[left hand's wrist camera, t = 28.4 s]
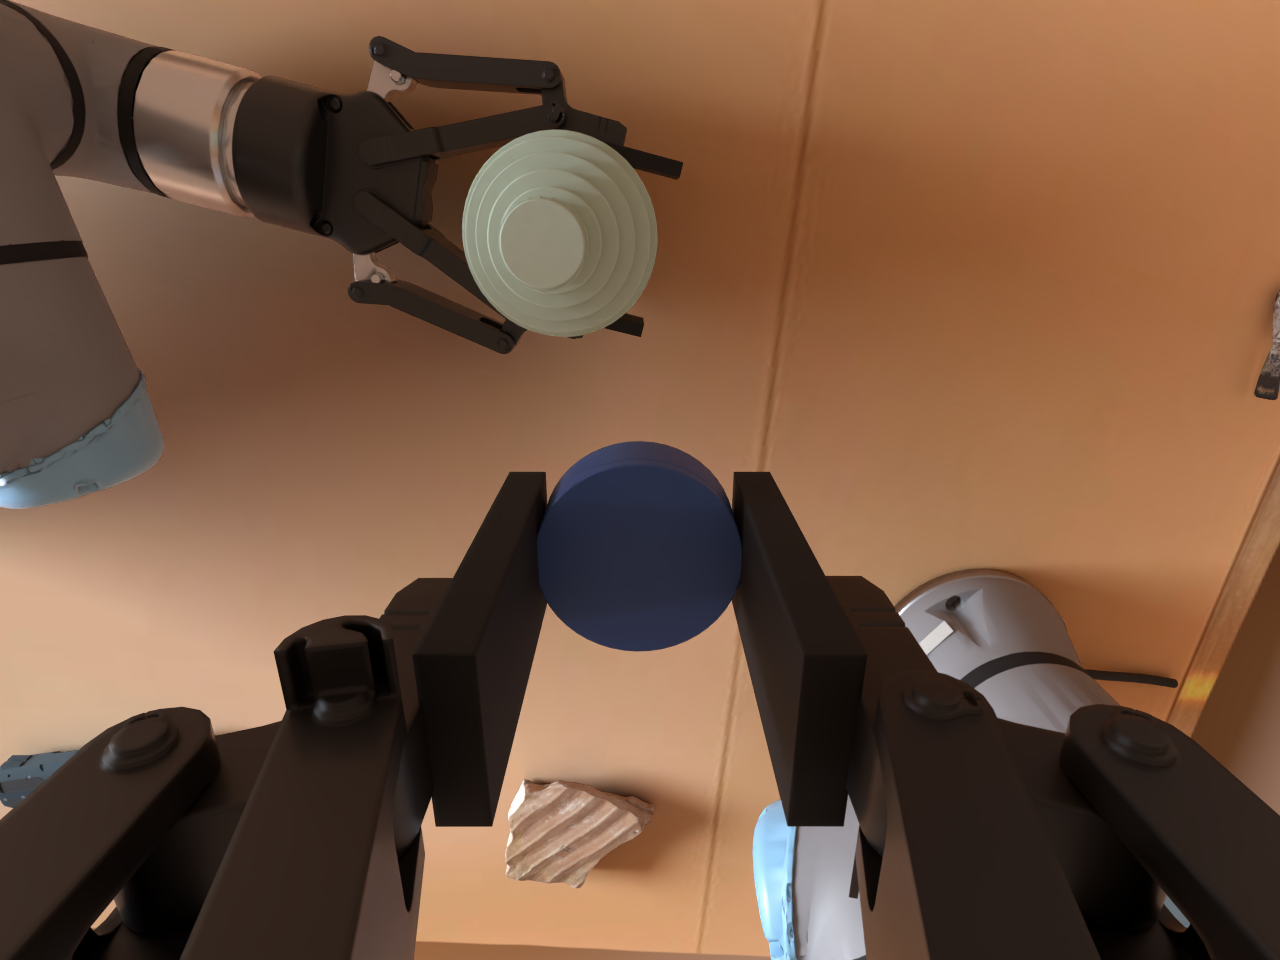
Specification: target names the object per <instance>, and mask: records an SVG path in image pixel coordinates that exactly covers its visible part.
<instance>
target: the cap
mask: <svg viewBox="0 0 1280 960" xmlns="http://www.w3.org/2000/svg"><path fill="white" fill-rule="evenodd" d="M537 553H538V570H539V586H540V589H541V591H542V594H543V596H544V598H545V599H546V601H547V603H548V604H549V606H550V608H551V609H552V610H553V611H554V613H555V614H556V615H557V616H558V617H559V618H560V619H561V620H562V621H563V622H564V623H565V624H566V625H567V626H568V627H569V628H571V629H572V630H573V631H575V632H576V633H578V634H579V635H581V636H583V637H584V638H586V639H588V640H590V641H593V642H595V643H597V644H600V645H603V646H606V647H609V648H614V649H619V650H625V651H652V650H658V649H664V648H668V647H671V646H675V645H678V644H680V643H683V642H685V641H687V640H689V639H691V638H693V637H695V636H697V635H698V634H700V633H701V632H703V631H704V630H705V629H707V628H708V627H709V626H710V625H712V624H713V623H714V622H715V621H716V620H717V619H718V618H719V617H720V615H721V614H722V613H723V612H724V611H725V610H726V608H727V606H728V605H729V603H730V602H731V600H732V599H733V596H734V594H735V592H736V590H737V588H738V585H739V581H740V577H741V562H742V541H741V537H740V534H739V530H738V527H737V524H736V521H735V518H734V515H733V512H732V509H731V506H730V502H729V500H728V497H727V495H726V493H725V491H724V489H723V487H722V486H721V484H720V483H719V481H718V480H717V478H716V477H715V476H714V475H713V474H712V472H711V471H710V470H709V469H708V468H706V467H705V466H704V465H703V464H702V463H701V462H700V461H698V460H697V459H695V458H694V457H692V456H691V455H689V454H687V453H685V452H683V451H681V450H679V449H676V448H673V447H670V446H668V445H664V444H659V443H654V442H642V441H638V442H624V443H618V444H614V445H610V446H607V447H604V448H601V449H599V450H597V451H594V452H592V453H590V454H589V455H587V456H585V457H584V458H582V459H581V460H579V461H578V462H577V463H576V464H574V465H573V466H572V467H571V468H570V469H569V470H568V471H567V472H566V473H565V474H564V475H563V476H562V478H561V479H560V481H559V482H558V483H557V485H556V486H555V488H554V490H553V492H552V494H551V496H550V499H549V501H548V504H547V507H546V510H545V513H544V516H543V519H542V522H541V525H540V528H539V531H538V534H537Z"/></svg>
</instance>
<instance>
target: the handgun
mask: <svg viewBox="0 0 1280 960" xmlns="http://www.w3.org/2000/svg"><path fill="white" fill-rule="evenodd" d="M78 751H79V750H75V751H68V752H58V751H57V752H50V753H43V754H36V755H12V756H11V757H10V758H9V759H8V760H7V761H6V762H4V763H3V764H2V765H1V767H0V801H1V802H2V804H3V805H4V806H7V807H11V808H14V807H16V806H17V805H18V804H19V803H20V802H21V801H22V800H23V799H25V798H26V797H27V796H28V795H29V794H30V793H31V792H33V791H34V790H35V789H36V788H37V787H38V786H39V785H40V784H42V783H43V782H44V781H45V780H46V779H47V778H48V777H49V776H51V775H52V774H53V773H54V772H55V771H56V770H57V769H58V768H60V767H61V766H62V765H63V764H64V763H65V762H66V761H67V760H69V759H70V758H71V757H72V756H73V755H74V754H75V753H77V752H78Z"/></svg>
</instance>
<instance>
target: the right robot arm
mask: <svg viewBox="0 0 1280 960" xmlns="http://www.w3.org/2000/svg"><path fill="white" fill-rule="evenodd" d="M369 52H370V55H371V57H372V58H373V59H374V64H373V68H372V72H371V76H370V80H369V84H368V88H367V91H360V92H358V93H355V94H349V95H343V94H339V93H335V92H331V91H327V90H324V89H320V88H316V87H312V86H309V85H305V84H301V83H297V82H294V81H290V80H286V79H282V78H279V77H275V76H265V77H261V76H260V75H259V74H258V73H256V72H254V71H251V70H249V69H245V68H242V67H238V66H234V65H231V64H227V63H223V62H219V61H216V60H212V59H208V58H204V57H201V56H197V55H193V54H190V53H186V52H182V51H175V50H172V49H168V48H164V47H157V46H153V45H150V44H147V43H143V42H140V41H136V40H133V39H130V38H126V37H123V36H120V35H116V34H113V33H110V32H106V31H103V30H100V29H96V28H93V27H89V26H86V25H82V24H79V23H76V22H72V21H69V20H66V19H62V18H59V17H56V16H53V15H50V14H47V13H44V12H41V11H38V10H36V9H33V8H30V7H27V6H24V5H21V4H18V3H15V2H12V1H9V0H0V507H4V508H9V509H26V508H35V507H41V506H46V505H51V504H56V503H60V502H64V501H68V500H72V499H76V498H79V497H81V496H83V495H86V494H88V493H91V492H95V491H99V490H104V489H108V488H111V487H114V486H116V485H118V484H121V483H123V482H126V481H128V480H131V479H133V478H135V477H137V476H139V475H141V474H143V473H144V472H145V471H147V470H148V469H150V468H151V467H153V466H154V465H155V464H156V463H157V462H158V461H159V459H160V458H161V456H162V454H163V451H164V439H163V435H162V433H161V430H160V427H159V424H158V421H157V418H156V415H155V412H154V409H153V406H152V403H151V400H150V397H149V394H148V391H147V388H146V381H145V376H144V374H143V373H142V372H141V371H140V369H139V368H137V366H136V364H135V362H134V359H133V357H132V355H131V353H130V351H129V348H128V346H127V344H126V342H125V340H124V337H123V335H122V333H121V331H120V329H119V326H118V324H117V322H116V320H115V318H114V315H113V313H112V311H111V309H110V307H109V304H108V302H107V300H106V298H105V296H104V293H103V291H102V289H101V287H100V285H99V282H98V280H97V278H96V276H95V274H94V271H93V269H92V267H91V265H90V263H89V260H88V255H87V252H86V250H85V248H84V246H83V243H82V239H81V237H80V235H79V232H78V230H77V228H76V225H75V223H74V220H73V218H72V216H71V213H70V211H69V209H68V206H67V204H66V202H65V199H64V197H63V195H62V192H61V190H60V187H59V185H58V183H57V180H56V178H55V176H54V175H59V176H72V177H79V178H85V179H90V180H95V181H100V182H105V183H109V184H114V185H118V186H123V187H127V188H132V189H137V190H141V191H146V192H150V193H155V194H158V195H160V196H164V197H168V198H172V199H175V200H177V201H180V202H184V203H188V204H192V205H196V206H201V207H205V208H209V209H213V210H217V211H221V212H225V213H229V214H233V215H238V216H242V217H247V218H248V217H252V216H256V217H257V218H258V219H259V220H261V221H263V222H266V223H270V224H274V225H278V226H282V227H286V228H290V229H294V230H298V231H302V232H306V233H310V234H314V235H318V236H322V237H326V238H330V239H332V240H334V241H336V242H338V243H340V244H341V245H342V246H343V247H345V248H346V249H347V250H348V251H350V252H351V253H353V264H354V276H355V282H353V283H351V284H350V286H349V287H348V293H349V296H350V298H351V299H352V300H353V301H355V302H358V303H367V304H381V305H389V306H392V307H394V308H396V309H399V310H401V311H403V312H406V313H408V314H410V315H413V316H415V317H417V318H420V319H422V320H424V321H427V322H429V323H431V324H433V325H436V326H438V327H440V328H443V329H445V330H447V331H450V332H452V333H454V334H457V335H459V336H461V337H464V338H466V339H468V340H471V341H473V342H475V343H478V344H480V345H482V346H484V347H487V348H489V349H491V350H494V351H496V352H498V353H501V354H507V353H509V352H511V351H512V349H513V348H514V347H515V346H516V345H517V344H518V342H519V340H520V338H521V337H522V335H523V333H524V332H525V331H526V330H528V329H525V328H523V327H521V326H519V325H517V324H516V323H514V322H512V321H511V320H509V319H508V318H506V317H505V316H504V315H503V314H501V313H500V312H499V311H498V310H497V309H496V308H495V307H494V306H493V305H492V304H491V303H490V302H489V301H488V299H487V298H486V297H485V296H484V294H483V293H482V292H481V290H480V288H479V287H478V285H477V283H476V282H475V280H474V278H473V275H472V273H471V271H470V269H469V266H468V263H467V259H466V256H465V253H464V252H463V251H462V250H461V249H459V248H458V247H457V246H455V245H454V244H453V243H451V242H450V241H449V240H447V239H446V238H445V236H444V235H443V234H442V233H441V232H439V231H438V230H437V229H436V228H434V227H433V226H432V225H430V224H429V223H428V221H431V220H432V212H433V204H432V196H431V192H432V189H433V187H434V184H435V182H436V179H437V171H438V165H437V164H435V161H436V160H441V159H446V158H451V157H454V156H456V155H460V154H465V153H470V152H475V151H479V150H484V149H489V148H494V147H499V146H504V145H506V144H508V143H509V142H511V141H513V140H514V139H517V138H519V137H521V136H524V135H526V134H530V133H533V132H537V131H544V130H568V131H574V132H579V133H582V134H585V135H588V136H591V137H594V138H596V139H597V140H599V141H601V142H603V143H605V144H607V145H608V146H610V147H611V148H613V149H614V150H615V151H617V152H618V153H619V154H620V155H621V156H622V157H623V158H624V159H626V160H627V161H628V163H629V164H630V165H631V166H632V167H633V168H635V169H639V170H643V171H646V172H650V173H654V174H657V175H661V176H665V177H669V178H672V179H676V180H677V179H678V178H679V177H680V174H681V170H682V165H683V162H679V161H676V160H672V159H668V158H665V157H661V156H657V155H654V154H650V153H646V152H642V151H639V150H635V149H631V148H628V147H624V142H625V137H626V133H627V128H626V127H625V126H623V125H622V124H621V123H620V122H618V121H615V120H611V119H607V118H604V117H600V116H596V115H593V114H589V113H586V112H582V111H578V110H575V109H573V108H571V107H570V106H569V105H568V103H567V98H566V90H565V80H564V77H563V75H562V73H561V71H560V69H559V68H558V66H557V65H556V64H555V63H552V62H548V61H534V60H519V59H504V58H490V57H475V56H461V55H446V54H431V53H417V52H414V51H412V50H409V49H407V48H405V47H403V46H401V45H399V44H397V43H395V42H393V41H391V40H388V39H386V38H384V37H381V36H378V37H374V38H373V39H372V40H371V42H370V44H369ZM417 83H420V84H422V85H426V86H430V87H436V88H449V89H464V90H479V91H493V92H508V93H523V94H538V95H542V102H543V105H542V106H537V107H533V108H528V109H523V110H518V111H513V112H509V113H504V114H499V115H494V116H490V117H485V118H480V119H475V120H470V121H466V122H461V123H456V124H451V125H446V126H442V127H429V128H424V129H419V130H414V129H413V128H412V126H411V125H410V124H409V123H408V122H407V121H406V119H405V118H404V117H403V116H402V115H401V114H400V113H399V111H398V110H397V109H396V108H395V107H394V106H393V104H392V103H391V102H390V101H391V99H392V97H393V96H394V95H395V94H397V93H406V94H408V93H411V92H413V91H414V89H415V87H416V85H417ZM399 242H400V243H402V244H403V245H404V246H406V247H407V248H408V249H410V250H411V251H412V252H414V253H415V254H417V255H419V256H421V257H423V258H425V259H426V260H428V261H429V262H430V263H432V264H433V265H434V266H436V267H437V268H438V269H440V270H441V271H442V272H444V273H445V274H446V275H448V276H449V277H450V278H452V279H453V280H454V281H456V282H457V283H459V284H460V285H461V286H463V287H464V288H465V289H467V290H468V291H469V292H471V293H472V294H473V295H475V296H476V297H477V298H479V299H480V300H481V301H483V302H484V303H485V304H487V305H488V306H489V307H491V308H492V309H493V310H495V311H496V312H497V313H499V314H500V315H501V316H503V317H504V318H505V319H506V321H505V323H504V324H503V323H500V322H498V321H496V320H494V319H491V318H489V317H487V316H484V315H482V314H480V313H478V312H475V311H473V310H471V309H469V308H466V307H464V306H462V305H459V304H457V303H455V302H453V301H450V300H448V299H446V298H444V297H441V296H439V295H437V294H434V293H432V292H430V291H428V290H425V289H423V288H421V287H418V286H416V285H414V284H411V283H408V282H405V281H401V280H395V274H394V272H393V271H392V270H391V269H390V268H389V267H386V266H383V265H381V264H380V263H379V262H378V261H377V259H376V255H375V253H377V252H379V251H382V250H384V249H386V248H388V247H390V246H392V245H395V244H397V243H399ZM643 326H644V321H643V318H641V317H637V316H633V315H629V314H624V315H623V316H622V317H620V318H619V319H617V320H616V321H615V322H613V323H612V324H610V325H608V326H606V327H604V328H606V329H610V330H614V331H618V332H622V333H626V334H630V335H635V336H639V337H641V334H642V330H643ZM582 337H583V335H580V336H572V337H568V338H572V339H575V338H582Z"/></svg>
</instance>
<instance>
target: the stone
mask: <svg viewBox="0 0 1280 960" xmlns="http://www.w3.org/2000/svg"><path fill="white" fill-rule="evenodd" d="M653 813H654V805H653V804H648V803H646V802H643V801H641V800H640V799H638V798H636V797H633V796H629V797H623V796H619V795H617V794H613V793H609V792H601V791H599V790H597V789H595V788H593V787H592V786H589V785H583V784H579V783H575V782H565V781H561V780H559V781H556V782H553V783H551V784H546V785H541V784H534V783H533V782H531V781H529V780H524V781H523V782H522V784H521V787H520V789H519V791H518V793H517V795H516V796H515V798H514V800H513V802H512V805H511V808H510V810H509V813H508V818H509V825H510V830H511V832H510V836H509V840H508V843H507V848H506V853H505V859H506V863H507V871H506V874H505V875H506V876H508V877H509V878H511V879H515V880H520V881H524V880H532V881H536V882H543V883H565V884H568V885H570V886H572V887H573V888H580V887H581V886H582V885H583V883H584V881H585V879H586V876H587V874H588V873H589V872H590V871H591V870H592V868H593V867H594V866H596V865H597V863H598V862H599V860H600V859H602V858H603V857H604V856H605V855H607V854H608V853H609V852H611V851H612V850H614V849H615V848H616V847H618V846H619V845H621V844H623V843H625V842H626V841H629V840H631V839H633V838H634V837H636V836H637V835H638V834H640V833H641V832H642V831H643V830H644V828H645V825H646V824H647V823H649V822H650V821H651V820H652V814H653Z"/></svg>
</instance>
